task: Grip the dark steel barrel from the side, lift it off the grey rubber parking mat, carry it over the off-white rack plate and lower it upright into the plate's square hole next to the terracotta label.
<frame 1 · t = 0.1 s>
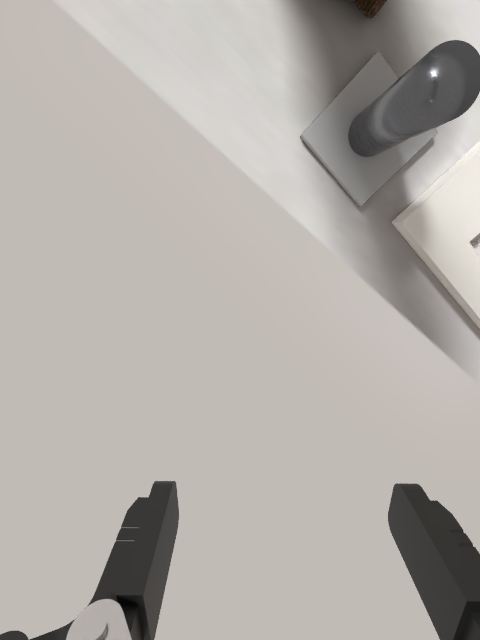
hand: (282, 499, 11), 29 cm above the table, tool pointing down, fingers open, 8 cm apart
parking mat: (365, 135, 33), on the table
steel barrel: (369, 133, 32), point 1 cm above the table, touching parking mat
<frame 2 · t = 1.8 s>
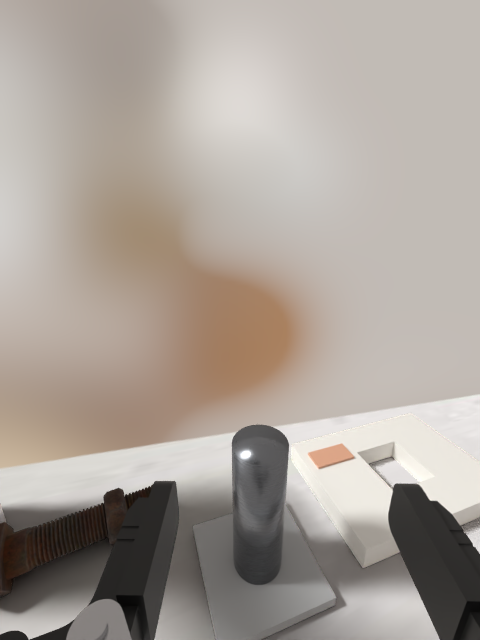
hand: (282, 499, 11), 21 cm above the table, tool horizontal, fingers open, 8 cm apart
rack plate: (390, 479, 38), on the table
parking mat: (257, 565, 29), on the table
steel barrel: (257, 557, 28), point 1 cm above the table, touching parking mat
bolt: (87, 547, 31), on the table
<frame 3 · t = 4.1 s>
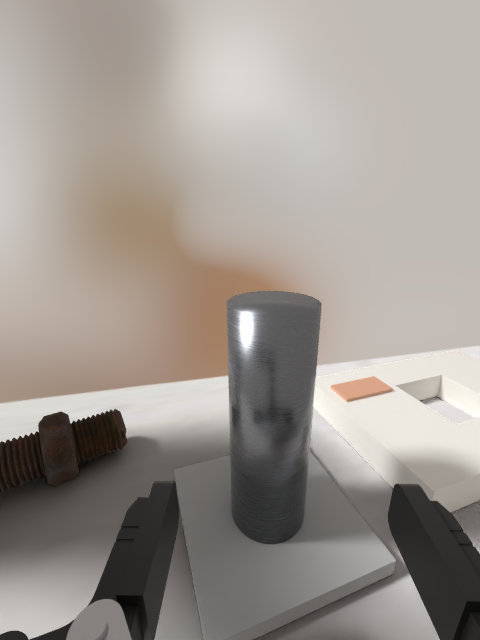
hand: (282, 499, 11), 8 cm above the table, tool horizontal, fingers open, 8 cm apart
rack plate: (442, 419, 28), on the table
parking mat: (267, 519, 19), on the table
steel barrel: (267, 507, 19), point 1 cm above the table, touching parking mat
bolt: (16, 494, 22), on the table
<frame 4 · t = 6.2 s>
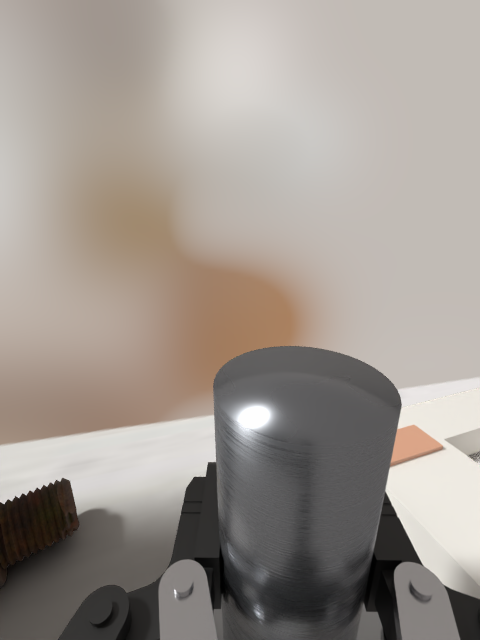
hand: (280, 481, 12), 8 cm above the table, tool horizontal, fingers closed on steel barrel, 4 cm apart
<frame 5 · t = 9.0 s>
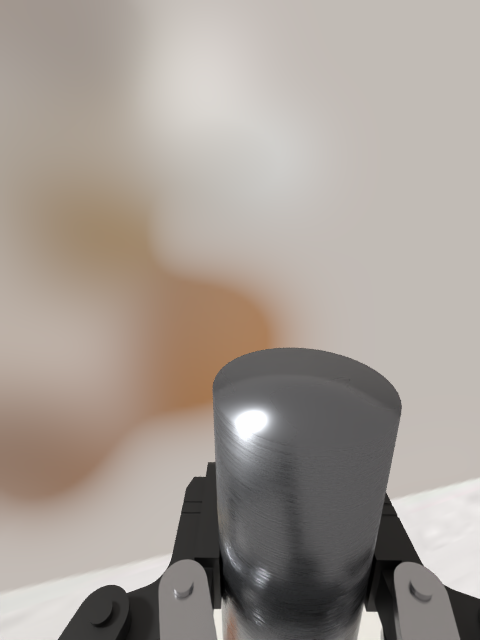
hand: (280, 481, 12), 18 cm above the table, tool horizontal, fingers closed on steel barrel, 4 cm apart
when the fingers open (8 cm above the table, at t = 11.8 s): steel barrel drops 1 cm, resting in rack plate.
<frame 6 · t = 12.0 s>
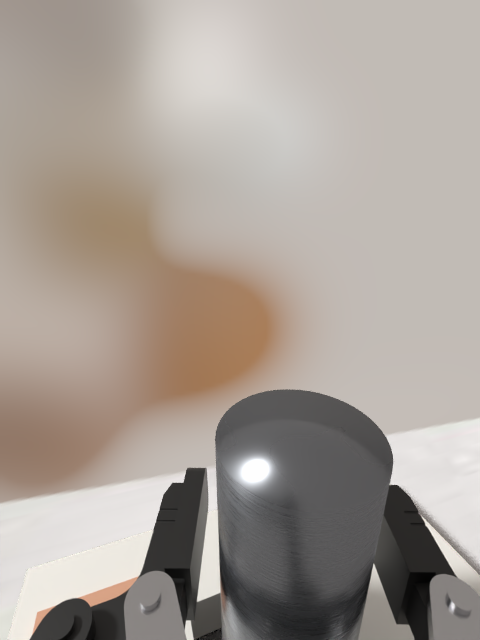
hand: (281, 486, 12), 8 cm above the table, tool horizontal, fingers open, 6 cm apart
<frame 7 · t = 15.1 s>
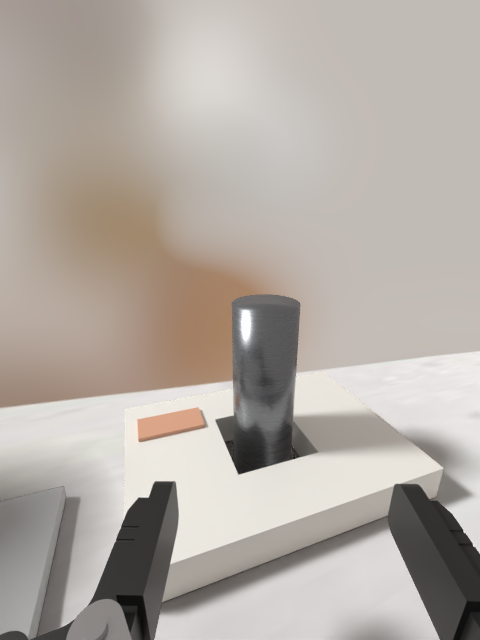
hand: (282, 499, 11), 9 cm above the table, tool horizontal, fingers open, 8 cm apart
rack plate: (262, 460, 24), on the table
steel barrel: (262, 461, 24), resting in rack plate
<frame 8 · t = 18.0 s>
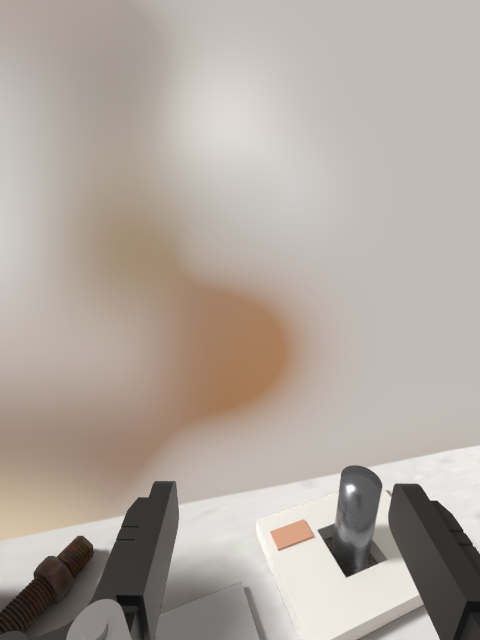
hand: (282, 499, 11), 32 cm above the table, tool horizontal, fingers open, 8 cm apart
rack plate: (348, 557, 40), on the table
steel barrel: (348, 558, 40), resting in rack plate
bolt: (32, 621, 34), on the table
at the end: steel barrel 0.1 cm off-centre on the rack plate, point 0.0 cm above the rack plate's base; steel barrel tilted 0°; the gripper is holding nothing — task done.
